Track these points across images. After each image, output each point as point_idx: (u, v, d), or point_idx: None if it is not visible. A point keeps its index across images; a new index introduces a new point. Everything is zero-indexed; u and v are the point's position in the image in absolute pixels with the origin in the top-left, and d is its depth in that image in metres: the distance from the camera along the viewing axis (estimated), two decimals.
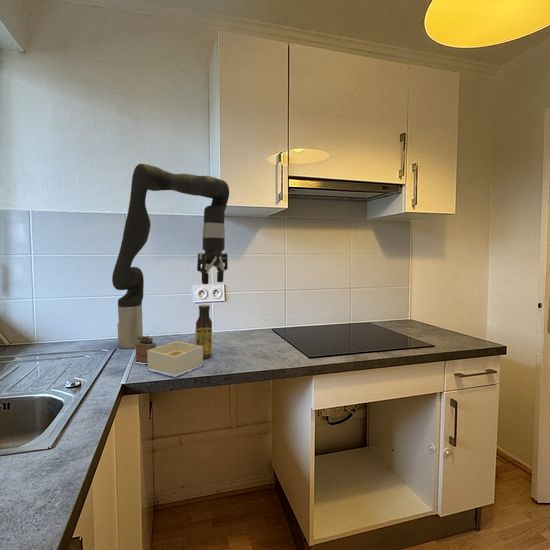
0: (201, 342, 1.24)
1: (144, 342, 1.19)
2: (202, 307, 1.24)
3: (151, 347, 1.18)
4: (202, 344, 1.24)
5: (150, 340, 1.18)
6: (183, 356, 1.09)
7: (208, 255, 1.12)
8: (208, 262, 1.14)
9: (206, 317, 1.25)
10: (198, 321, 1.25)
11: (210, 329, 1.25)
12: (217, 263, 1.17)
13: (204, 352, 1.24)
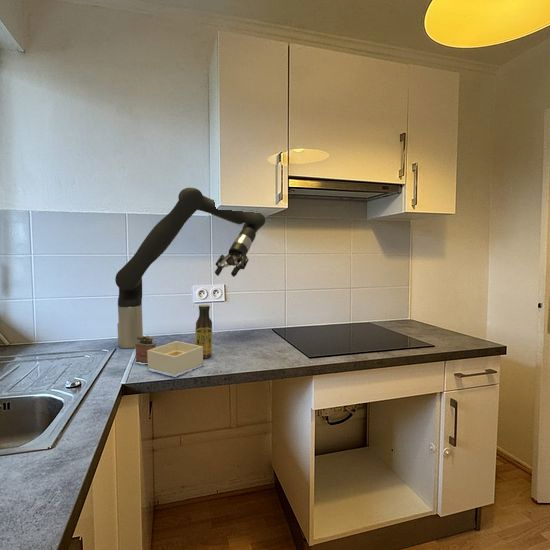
0: (201, 342, 1.24)
1: (144, 342, 1.19)
2: (202, 307, 1.24)
3: (151, 347, 1.18)
4: (202, 344, 1.24)
5: (150, 340, 1.18)
6: (183, 356, 1.09)
7: None
8: None
9: (206, 317, 1.25)
10: (198, 321, 1.25)
11: (210, 329, 1.25)
12: None
13: (204, 352, 1.24)
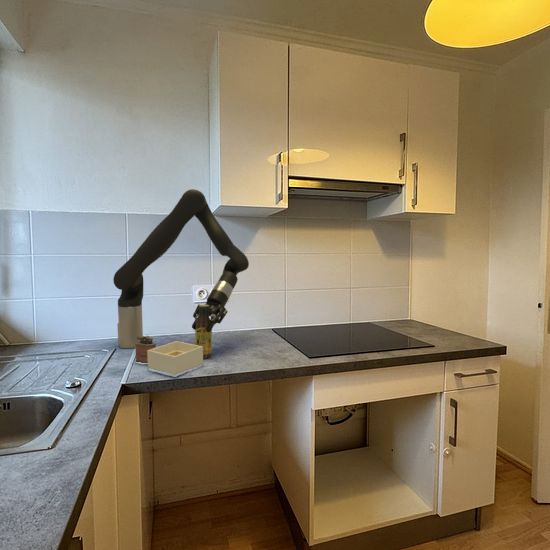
0: (201, 342, 1.24)
1: (144, 342, 1.19)
2: (202, 307, 1.24)
3: (151, 347, 1.18)
4: (202, 344, 1.24)
5: (150, 340, 1.18)
6: (183, 356, 1.09)
7: None
8: (214, 314, 1.28)
9: (206, 317, 1.25)
10: (198, 321, 1.25)
11: None
12: None
13: (204, 352, 1.24)
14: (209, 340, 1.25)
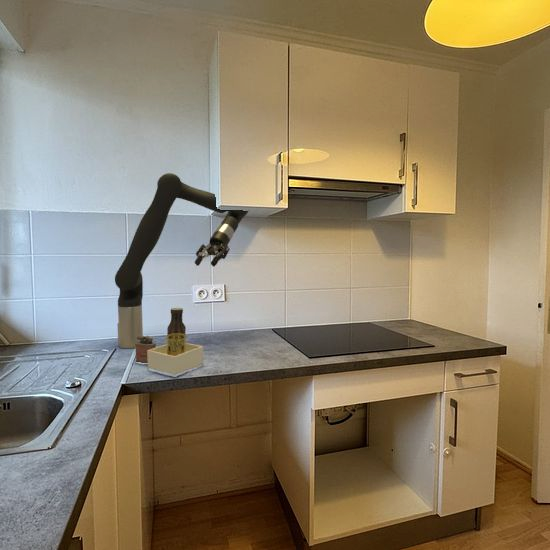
0: (173, 349, 1.12)
1: (144, 342, 1.19)
2: (174, 311, 1.12)
3: (151, 347, 1.18)
4: (174, 351, 1.12)
5: (150, 340, 1.18)
6: (183, 356, 1.09)
7: None
8: (218, 251, 1.37)
9: (179, 321, 1.13)
10: (170, 326, 1.13)
11: (183, 335, 1.13)
12: None
13: None
14: (182, 347, 1.13)
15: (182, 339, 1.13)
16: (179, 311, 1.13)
